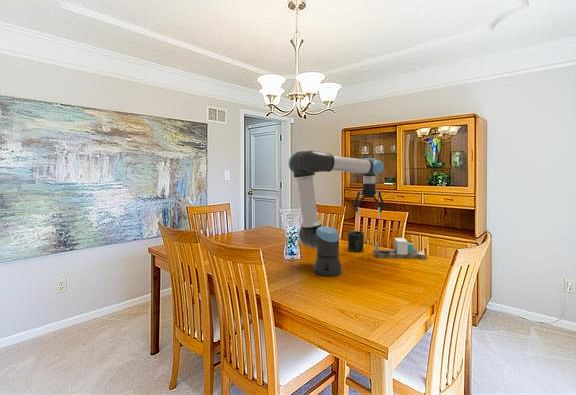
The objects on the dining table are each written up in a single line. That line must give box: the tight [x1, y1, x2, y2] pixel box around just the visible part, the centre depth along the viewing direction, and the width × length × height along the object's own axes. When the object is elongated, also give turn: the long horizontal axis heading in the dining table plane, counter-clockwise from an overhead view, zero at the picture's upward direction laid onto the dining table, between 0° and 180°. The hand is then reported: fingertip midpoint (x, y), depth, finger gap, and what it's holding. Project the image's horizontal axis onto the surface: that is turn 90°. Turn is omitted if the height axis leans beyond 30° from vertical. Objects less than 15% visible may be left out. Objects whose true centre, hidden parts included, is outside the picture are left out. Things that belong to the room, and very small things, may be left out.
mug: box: [347, 230, 365, 253], centre depth 217 cm, size 11×15×12 cm
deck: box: [372, 248, 428, 260], centre depth 202 cm, size 30×11×2 cm, turn 82°
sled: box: [374, 241, 418, 254], centre depth 201 cm, size 24×7×5 cm, turn 82°
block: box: [408, 242, 414, 252], centre depth 200 cm, size 6×4×4 cm
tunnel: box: [393, 237, 409, 255], centre depth 201 cm, size 6×10×8 cm, turn 172°
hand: (368, 217), depth 202 cm, fingers open, 12 cm apart
